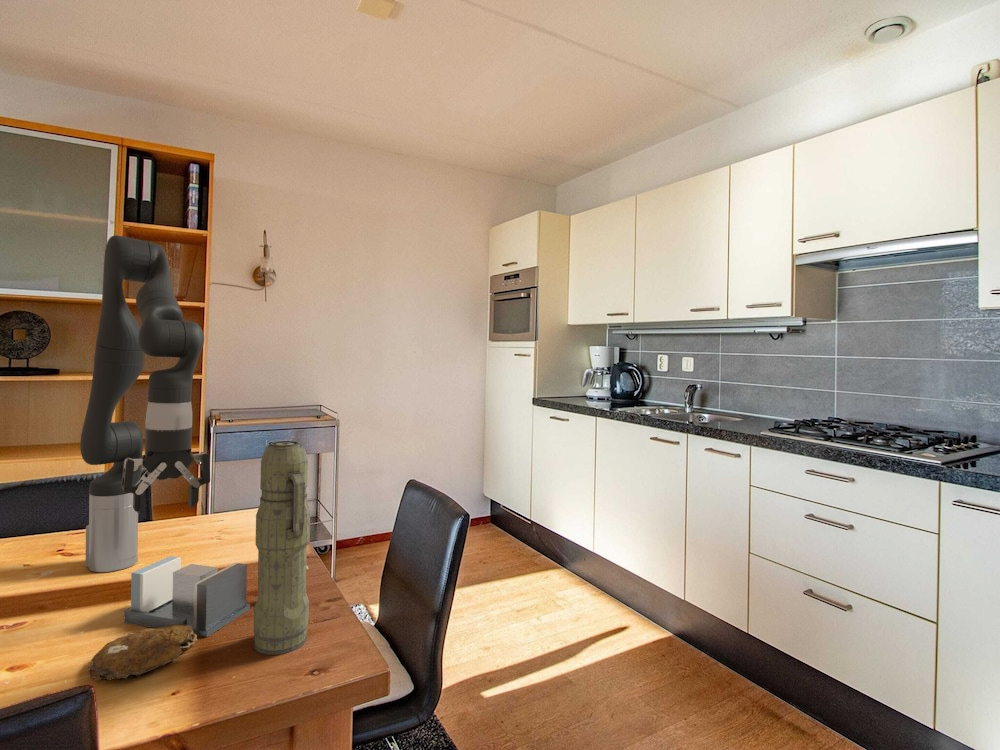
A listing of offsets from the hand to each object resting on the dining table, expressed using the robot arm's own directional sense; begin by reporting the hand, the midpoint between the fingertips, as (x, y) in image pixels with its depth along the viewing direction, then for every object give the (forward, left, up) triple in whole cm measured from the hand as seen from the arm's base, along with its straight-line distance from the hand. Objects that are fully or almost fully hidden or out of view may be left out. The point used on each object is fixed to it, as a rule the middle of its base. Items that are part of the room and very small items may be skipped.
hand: (166, 509), depth 103 cm
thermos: (+27, -3, -20) cm, 34 cm away
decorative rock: (+10, -14, -21) cm, 27 cm away
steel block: (+6, 0, -19) cm, 20 cm away
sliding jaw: (-2, 0, -19) cm, 19 cm away
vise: (+5, 0, -20) cm, 21 cm away
